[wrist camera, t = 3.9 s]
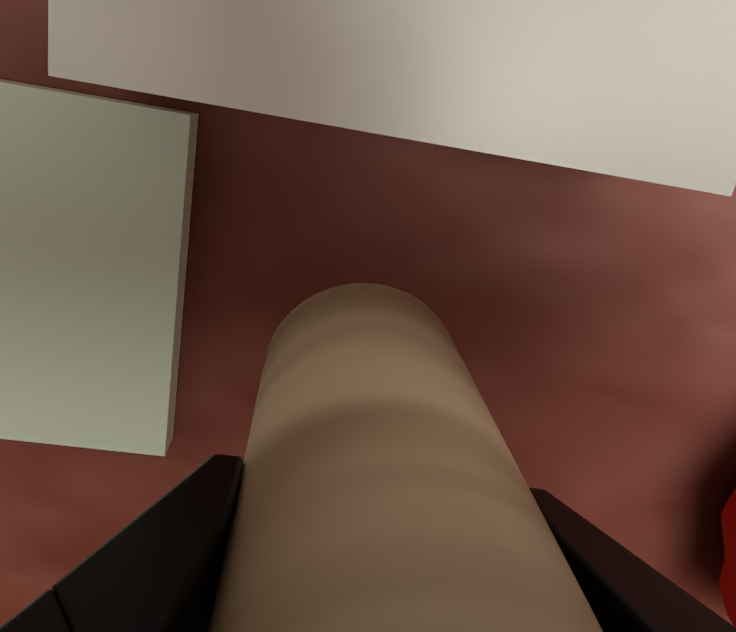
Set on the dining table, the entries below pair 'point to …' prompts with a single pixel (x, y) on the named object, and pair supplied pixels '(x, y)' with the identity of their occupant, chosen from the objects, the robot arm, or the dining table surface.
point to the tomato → (729, 557)
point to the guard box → (443, 72)
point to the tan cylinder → (384, 488)
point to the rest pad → (92, 267)
